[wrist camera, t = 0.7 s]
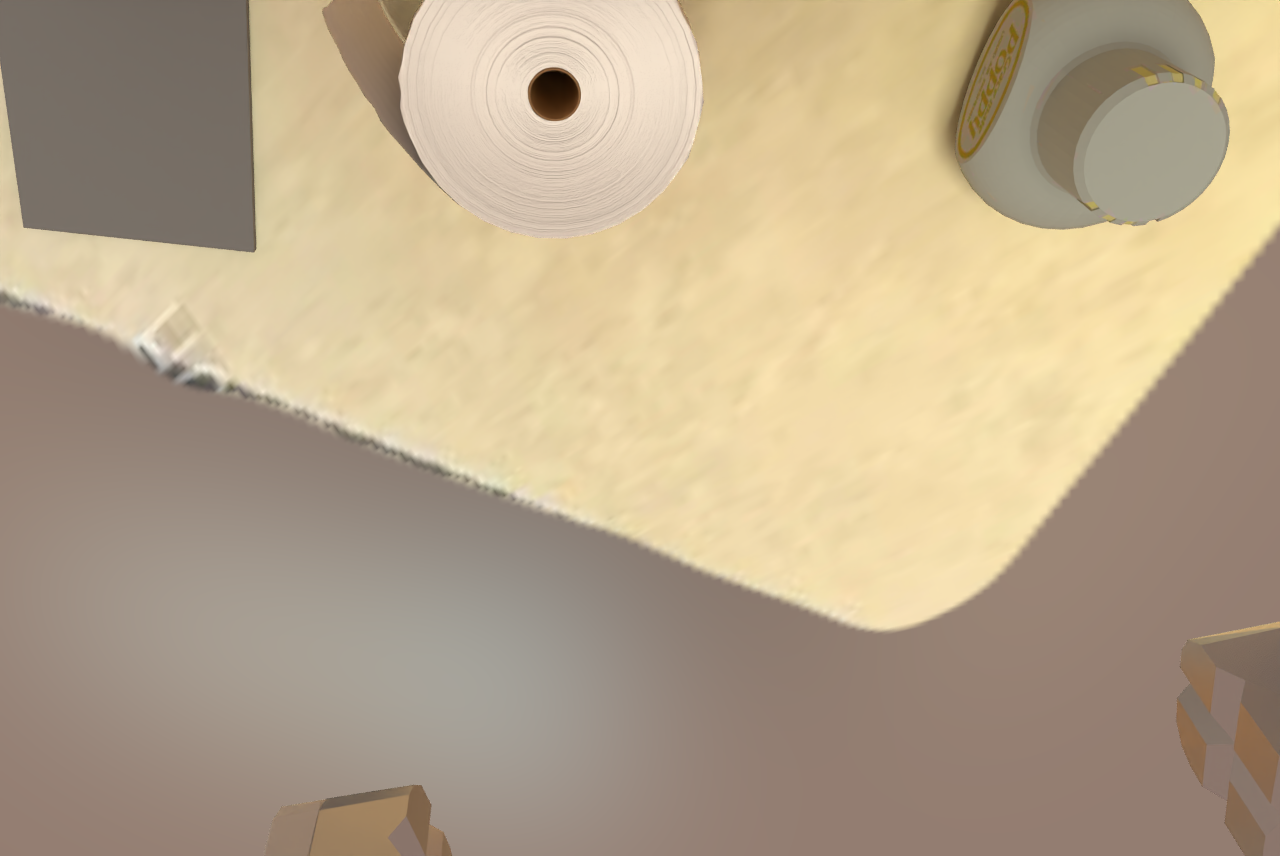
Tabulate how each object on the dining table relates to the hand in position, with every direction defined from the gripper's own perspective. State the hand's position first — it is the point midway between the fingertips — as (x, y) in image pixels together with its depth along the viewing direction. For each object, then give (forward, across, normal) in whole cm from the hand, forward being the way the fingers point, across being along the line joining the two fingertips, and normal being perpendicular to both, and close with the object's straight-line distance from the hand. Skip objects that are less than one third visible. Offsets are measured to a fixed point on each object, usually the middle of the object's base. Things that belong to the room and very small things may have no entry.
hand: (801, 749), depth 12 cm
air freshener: (+42, -18, +8) cm, 46 cm away
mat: (+41, +22, 0) cm, 47 cm away
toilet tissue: (+42, +4, +1) cm, 42 cm away
